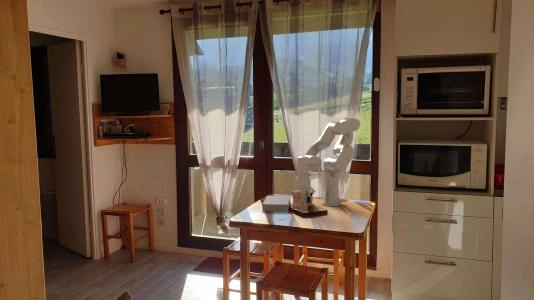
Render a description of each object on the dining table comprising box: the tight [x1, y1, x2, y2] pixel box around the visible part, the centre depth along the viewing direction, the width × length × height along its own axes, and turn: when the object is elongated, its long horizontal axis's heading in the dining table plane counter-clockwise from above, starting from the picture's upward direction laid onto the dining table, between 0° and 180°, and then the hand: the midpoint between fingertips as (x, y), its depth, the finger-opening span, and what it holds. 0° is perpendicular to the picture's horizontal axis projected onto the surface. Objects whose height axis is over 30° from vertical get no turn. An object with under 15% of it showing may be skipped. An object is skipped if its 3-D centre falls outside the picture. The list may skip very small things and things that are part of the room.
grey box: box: [262, 195, 291, 213], centre depth 280 cm, size 16×26×5 cm, turn 174°
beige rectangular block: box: [292, 189, 314, 211], centre depth 277 cm, size 21×6×12 cm, turn 156°
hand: (302, 202), depth 277 cm, fingers closed on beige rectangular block, 7 cm apart
